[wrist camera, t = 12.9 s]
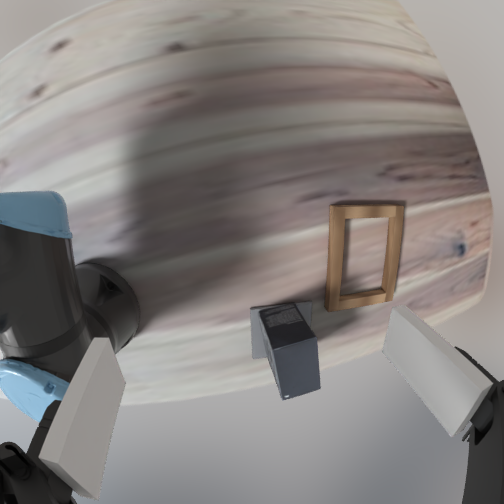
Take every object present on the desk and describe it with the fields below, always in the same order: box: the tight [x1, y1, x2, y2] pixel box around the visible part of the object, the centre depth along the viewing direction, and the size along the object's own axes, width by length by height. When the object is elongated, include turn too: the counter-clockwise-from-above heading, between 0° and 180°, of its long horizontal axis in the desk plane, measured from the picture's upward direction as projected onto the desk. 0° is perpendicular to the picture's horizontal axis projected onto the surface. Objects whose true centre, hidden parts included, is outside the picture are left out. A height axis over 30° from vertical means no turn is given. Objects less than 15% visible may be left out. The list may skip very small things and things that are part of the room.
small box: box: [258, 303, 321, 400], centre depth 40 cm, size 11×6×10 cm, turn 11°
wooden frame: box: [324, 204, 404, 312], centre depth 43 cm, size 13×17×2 cm
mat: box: [250, 301, 312, 359], centre depth 45 cm, size 10×10×1 cm
